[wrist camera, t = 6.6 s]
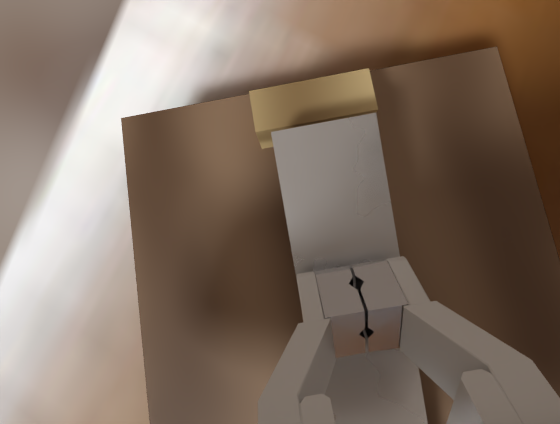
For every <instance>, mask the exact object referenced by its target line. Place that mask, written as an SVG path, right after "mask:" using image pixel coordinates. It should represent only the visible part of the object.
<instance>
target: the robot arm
mask: <svg viewBox="0 0 560 424" xmlns="http://www.w3.org/2000/svg"><path fill="white" fill-rule="evenodd" d="M297 283H298V289H299V296H300V303H301V309H302V316H303V323H298V325H297V327H296V329H295V331H294V333H293V334H292V336H291V338H290V340H289V342H288V344H287V346H286V348H285V350H284V352H283V354H282V356H281V358H280V360H279V362H278V364H277V365H276V367H275V369H274V371H273V373H272V375H271V377H270V379H269V381H268V383H267V385H266V387H265V389H264V391H263V393H262V394H261V396H260V398H259V400H258V424H335V420H334V415H333V410H332V405H331V400H330V398H329V397H327V396H326V395H325V392H326V389H327V386H328V383H329V380H330V377H331V374H332V371H333V368H334V365H335V362H336V358H340V357H345V356H350V355H355V354H361V353H365V343H366V346H367V349H368V352H374V351H381V350H389V349H396V348H400V350H401V351H402V352H403V353H404V354H405V355H406V356H407V357H408V358H409V359H410V360H411V361H412V362H413V363H415V364H416V365H417V366H418V367H419V368H420V369H421V370H422V371H423V372H424V373H425V374H426V375H427V376H428V377H430V378H431V379H432V380H433V381H434V382H435V383H436V384H437V385H438V386H439V387H440V388H441V389H442V390H443V391H445V392H446V393H447V394H448V395H449V396H450V397H451V398H452V399H453V400H454V402H453V405H452V408H451V411H450V414H449V417H448V420H447V423H446V424H560V398H559V396H558V395H557V394H556V392H555V391H554V389H553V388H552V387H551V385H550V384H549V383H548V381H547V380H546V379H545V377H544V376H543V375H542V373H541V372H540V370H539V369H538V368H537V366H536V365H535V364H534V362H533V361H532V360H531V359H529V358H528V357H526V356H525V355H523V354H521V353H520V352H518V351H517V350H515V349H513V348H512V347H510V346H508V345H507V344H505V343H504V342H502V341H500V340H499V339H497V338H496V337H494V336H492V335H491V334H489V333H488V332H486V331H484V330H483V329H481V328H479V327H478V326H476V325H475V324H473V323H471V322H470V321H468V320H467V319H465V318H463V317H462V316H460V315H458V314H457V313H455V312H454V311H452V310H450V309H449V308H447V307H446V306H444V305H442V304H441V303H439V302H438V301H430V300H429V298H428V296H427V294H426V292H425V291H424V289H423V287H422V285H421V284H420V282H419V280H418V278H417V276H416V275H415V273H414V271H413V269H412V268H411V266H410V264H409V262H408V261H407V259H406V258H405V257H404V256H401V257H395V258H389V259H385V260H384V259H383V260H378V261H372V262H367V263H361V264H355V265H351V266H350V268H349V266H346V267H339V268H332V269H325V270H318V271H314V272H307V273H300V274H297Z"/></svg>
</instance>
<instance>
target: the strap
mask: <svg viewBox="0 0 560 424" xmlns="http://www.w3.org/2000/svg"><path fill="white" fill-rule="evenodd" d="M271 135H272V141H273V147H274V153H275V158H276V164H277V170H278V176H279V181H280V187H281V193H282V199H283V204H284V210H285V216H286V222H287V227H288V233H289V239H290V245H291V250H292V256H293V262H294V267H295V273H296V279H297V274H300V273H307V272H314V271H318V270H325V269H332V268H339V267H346V266H349V268H350V266H351V265H355V264H361V263H367V262H372V261H378V260H383V259H384V260H385V259H389V258H395V257H400V254H399V248H398V242H397V236H396V230H395V224H394V218H393V212H392V206H391V200H390V194H389V188H388V182H387V176H386V170H385V164H384V158H383V151H382V145H381V139H380V133H379V127H378V121H377V115H376V113H371V114H366V115H360V116H355V117H349V118H344V119H338V120H333V121H328V122H322V123H317V124H311V125H306V126H301V127H295V128H290V129H284V130H279V131H274V132H271ZM297 285H298V283H297ZM298 290H299V289H298ZM325 395H326V396H327V397H329V398H330V400H331V405H332V410H333V415H334V420H335V424H428V422H427V416H426V410H425V404H424V398H423V392H422V386H421V380H420V374H419V368H418V366H417V365H416V364H415V363H413V362H412V361H411V360H410V359H409V358H408V357H407V356H406V355H405V354H404V353H403V352H402V351H401V350H400V348H396V349H389V350H381V351H374V352H368V349H367V346H366V343H365V353H361V354H355V355H350V356H345V357H340V358H336V362H335V365H334V368H333V371H332V374H331V377H330V380H329V383H328V386H327V389H326V392H325Z"/></svg>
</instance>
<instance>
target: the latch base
mask: <svg viewBox="0 0 560 424" xmlns="http://www.w3.org/2000/svg"><path fill="white" fill-rule="evenodd" d="M371 113H376V115H377V121H378V127H379V133H380V139H381V145H382V151H383V158H384V164H385V170H386V176H387V182H388V188H389V194H390V200H391V206H392V212H393V218H394V224H395V230H396V236H397V242H398V248H399V254H400V257H401V256H404V257H405V258H406V259H407V261H408V262H409V264H410V266H411V268H412V269H413V271H414V273H415V275H416V276H417V278H418V280H419V282H420V284H421V285H422V287H423V289H424V291H425V292H426V294H427V296H428V298H429V300H430V301H438V302H439V303H441V304H442V305H444V306H446V307H447V308H449V309H450V310H452V311H454V312H455V313H457V314H458V315H460V316H462V317H463V318H465V319H467V320H468V321H470V322H471V323H473V324H475V325H476V326H478V327H479V328H481V329H483V330H484V331H486V332H488V333H489V334H491V335H492V336H494V337H496V338H497V339H499V340H500V341H502V342H504V343H505V344H507V345H508V346H510V347H512V348H513V349H515V350H517V351H518V352H520V353H521V354H523V355H525V356H526V357H528V358H529V359H531V360H532V361H533V362H534V364H535V365H536V366H537V368H538V369H539V370H540V372H541V373H542V375H543V376H544V377H545V379H546V380H547V381H548V383H549V384H550V385H551V387H552V388H553V389H554V391H555V392H556V394H557V395H558V396H559V398H560V260H559V256H558V253H557V250H556V246H555V243H554V239H553V236H552V233H551V229H550V226H549V222H548V219H547V216H546V212H545V209H544V205H543V202H542V198H541V195H540V192H539V188H538V185H537V181H536V178H535V175H534V171H533V168H532V164H531V161H530V158H529V154H528V151H527V147H526V144H525V141H524V137H523V134H522V130H521V127H520V123H519V120H518V117H517V113H516V110H515V106H514V103H513V100H512V96H511V93H510V89H509V86H508V83H507V79H506V76H505V72H504V69H503V66H502V62H501V59H500V55H499V52H498V48H497V47H492V48H487V49H481V50H476V51H471V52H466V53H461V54H455V55H450V56H445V57H440V58H434V59H429V60H424V61H419V62H413V63H408V64H403V65H398V66H392V67H387V68H382V69H377V70H371V71H369V68H367V69H362V70H357V71H351V72H346V73H341V74H336V75H330V76H325V77H320V78H315V79H310V80H304V81H299V82H294V83H289V84H283V85H278V86H273V87H268V88H262V89H257V90H252V91H249V94H246V95H240V96H235V97H230V98H225V99H220V100H214V101H209V102H204V103H199V104H193V105H188V106H183V107H178V108H172V109H167V110H162V111H157V112H151V113H146V114H141V115H136V116H130V117H125V118H121V122H122V132H123V143H124V154H125V164H126V175H127V186H128V196H129V207H130V218H131V228H132V239H133V250H134V260H135V271H136V282H137V292H138V303H139V313H140V324H141V335H142V345H143V356H144V367H145V377H146V388H147V399H148V409H149V420H150V424H258V400H259V398H260V396H261V394H262V393H263V391H264V389H265V387H266V385H267V383H268V381H269V379H270V377H271V375H272V373H273V371H274V369H275V367H276V365H277V364H278V362H279V360H280V358H281V356H282V354H283V352H284V350H285V348H286V346H287V344H288V342H289V340H290V338H291V336H292V334H293V333H294V331H295V329H296V327H297V325H298V323H303V316H302V309H301V303H300V296H299V290H298V285H297V279H296V273H295V267H294V262H293V256H292V250H291V245H290V239H289V233H288V227H287V222H286V216H285V210H284V204H283V199H282V193H281V187H280V181H279V176H278V170H277V164H276V158H275V153H274V147H273V141H272V135H271V132H274V131H279V130H284V129H290V128H295V127H301V126H306V125H311V124H317V123H322V122H328V121H333V120H338V119H344V118H349V117H355V116H360V115H366V114H371ZM418 368H419V367H418ZM419 374H420V380H421V386H422V392H423V398H424V404H425V410H426V416H427V422H428V424H446V423H447V420H448V417H449V414H450V411H451V408H452V405H453V402H454V400H453V399H452V398H451V397H450V396H449V395H448V394H447V393H446V392H445V391H443V390H442V389H441V388H440V387H439V386H438V385H437V384H436V383H435V382H434V381H433V380H432V379H431V378H430V377H428V376H427V375H426V374H425V373H424V372H423V371H422V370H421V369H420V368H419Z"/></svg>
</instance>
